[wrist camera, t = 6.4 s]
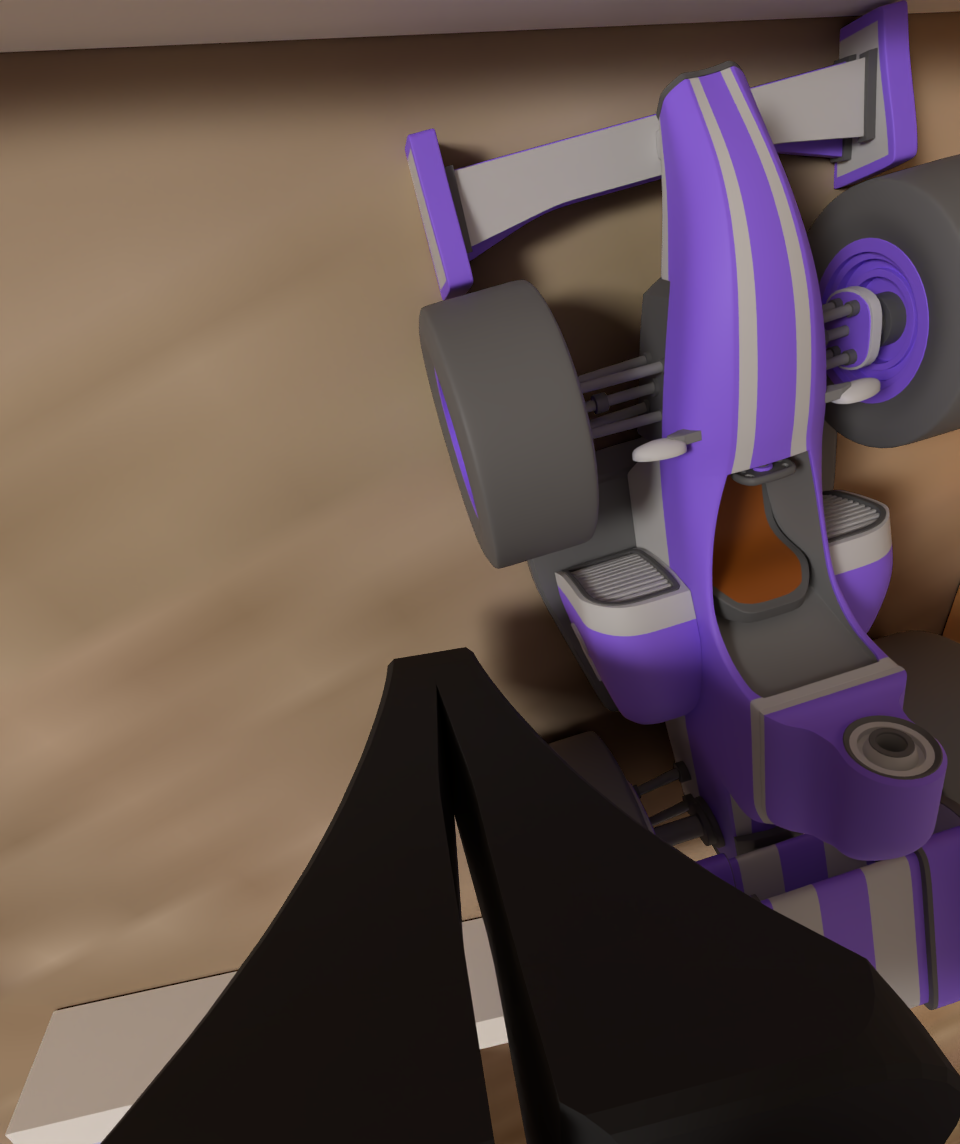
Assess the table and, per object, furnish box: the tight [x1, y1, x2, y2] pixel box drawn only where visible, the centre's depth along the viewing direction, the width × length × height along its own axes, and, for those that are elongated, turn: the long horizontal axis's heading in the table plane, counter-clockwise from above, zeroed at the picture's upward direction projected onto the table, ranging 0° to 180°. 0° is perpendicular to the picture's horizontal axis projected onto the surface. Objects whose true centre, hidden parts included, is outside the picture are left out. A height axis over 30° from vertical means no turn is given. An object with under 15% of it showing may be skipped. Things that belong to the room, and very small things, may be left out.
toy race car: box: [405, 0, 960, 1010], centre depth 9 cm, size 10×15×6 cm, turn 14°
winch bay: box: [0, 0, 960, 1144], centre depth 10 cm, size 20×27×6 cm
